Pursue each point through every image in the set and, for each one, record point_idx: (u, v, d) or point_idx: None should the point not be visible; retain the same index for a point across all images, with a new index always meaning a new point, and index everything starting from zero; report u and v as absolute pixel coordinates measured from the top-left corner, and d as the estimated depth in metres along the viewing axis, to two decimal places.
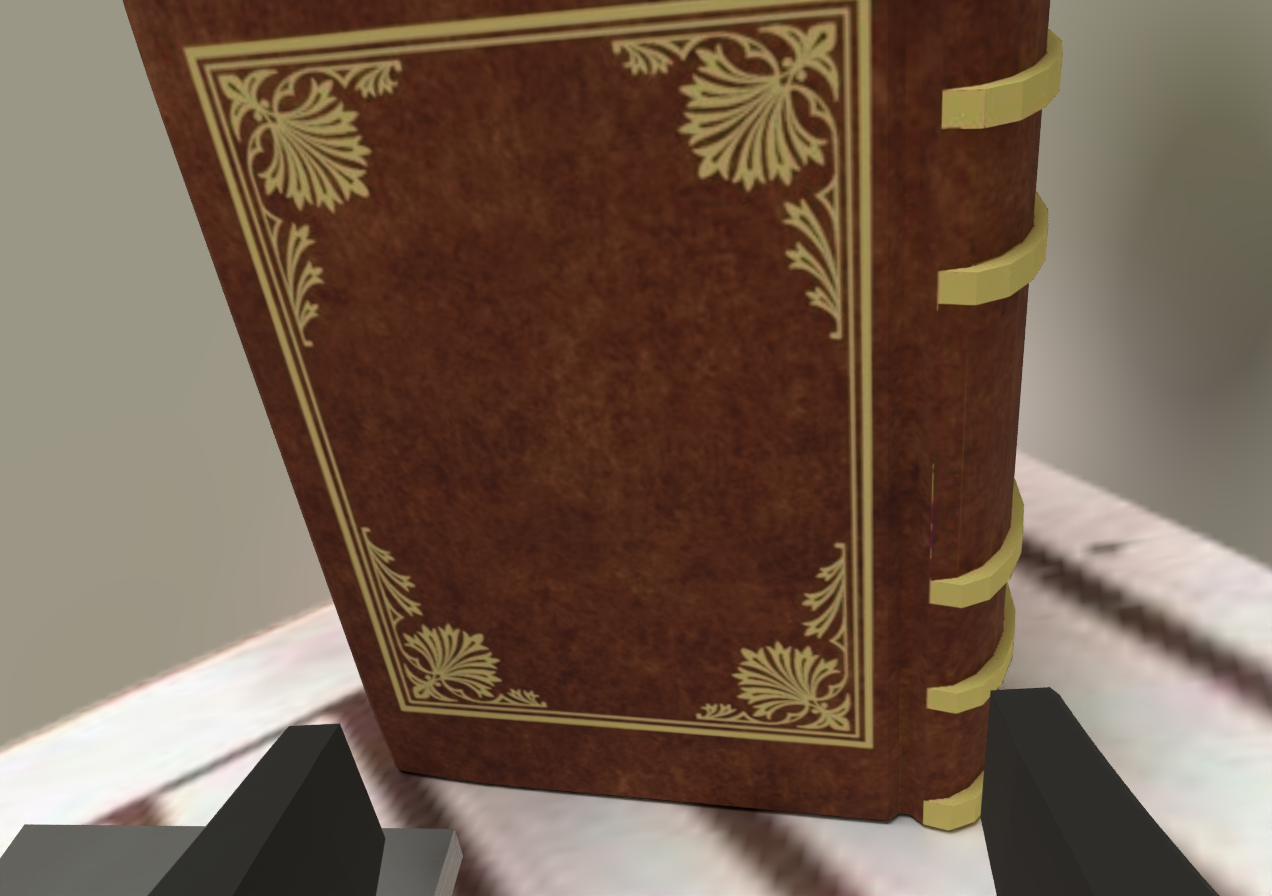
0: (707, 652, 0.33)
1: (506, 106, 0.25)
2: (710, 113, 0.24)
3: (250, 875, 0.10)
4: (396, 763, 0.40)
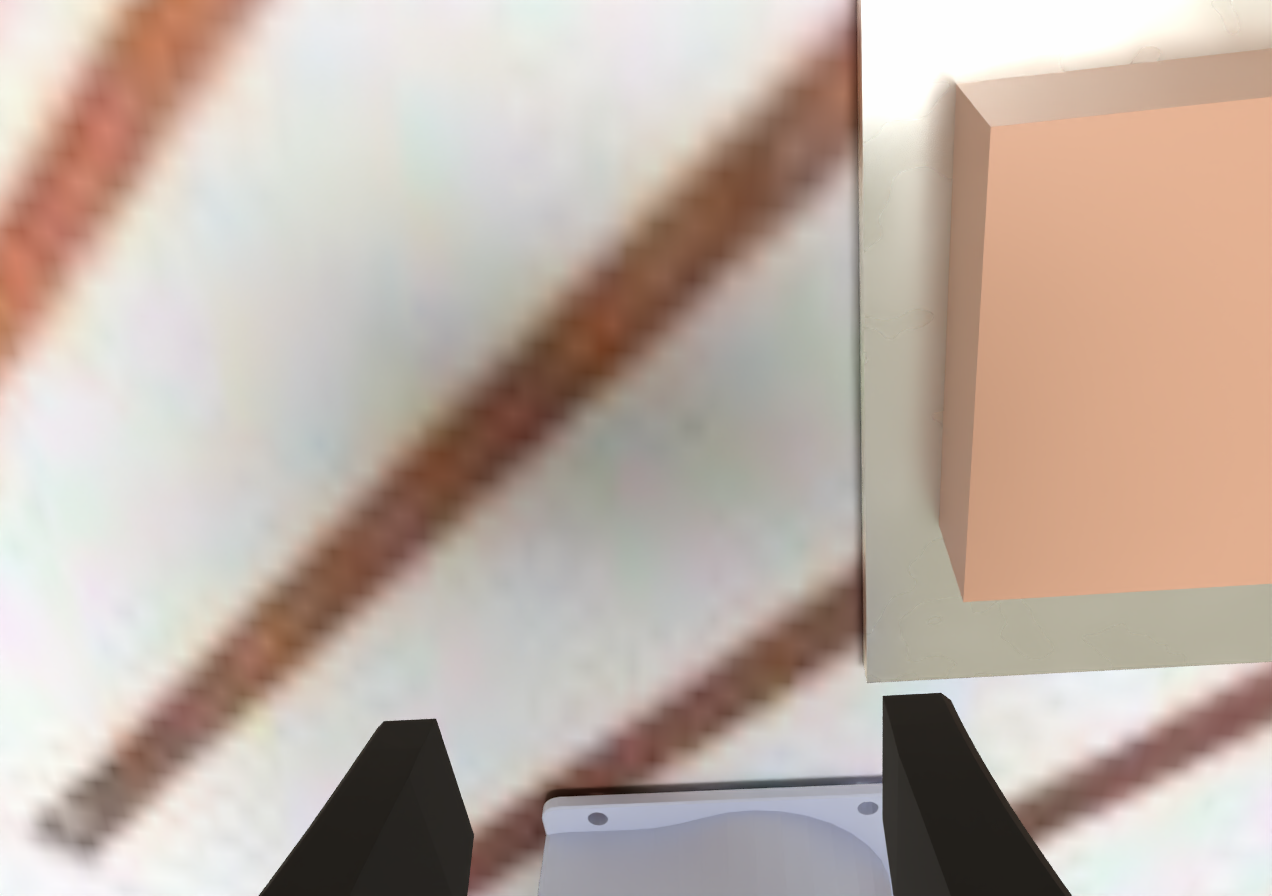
0: None
1: None
2: None
3: (366, 871, 0.09)
4: None
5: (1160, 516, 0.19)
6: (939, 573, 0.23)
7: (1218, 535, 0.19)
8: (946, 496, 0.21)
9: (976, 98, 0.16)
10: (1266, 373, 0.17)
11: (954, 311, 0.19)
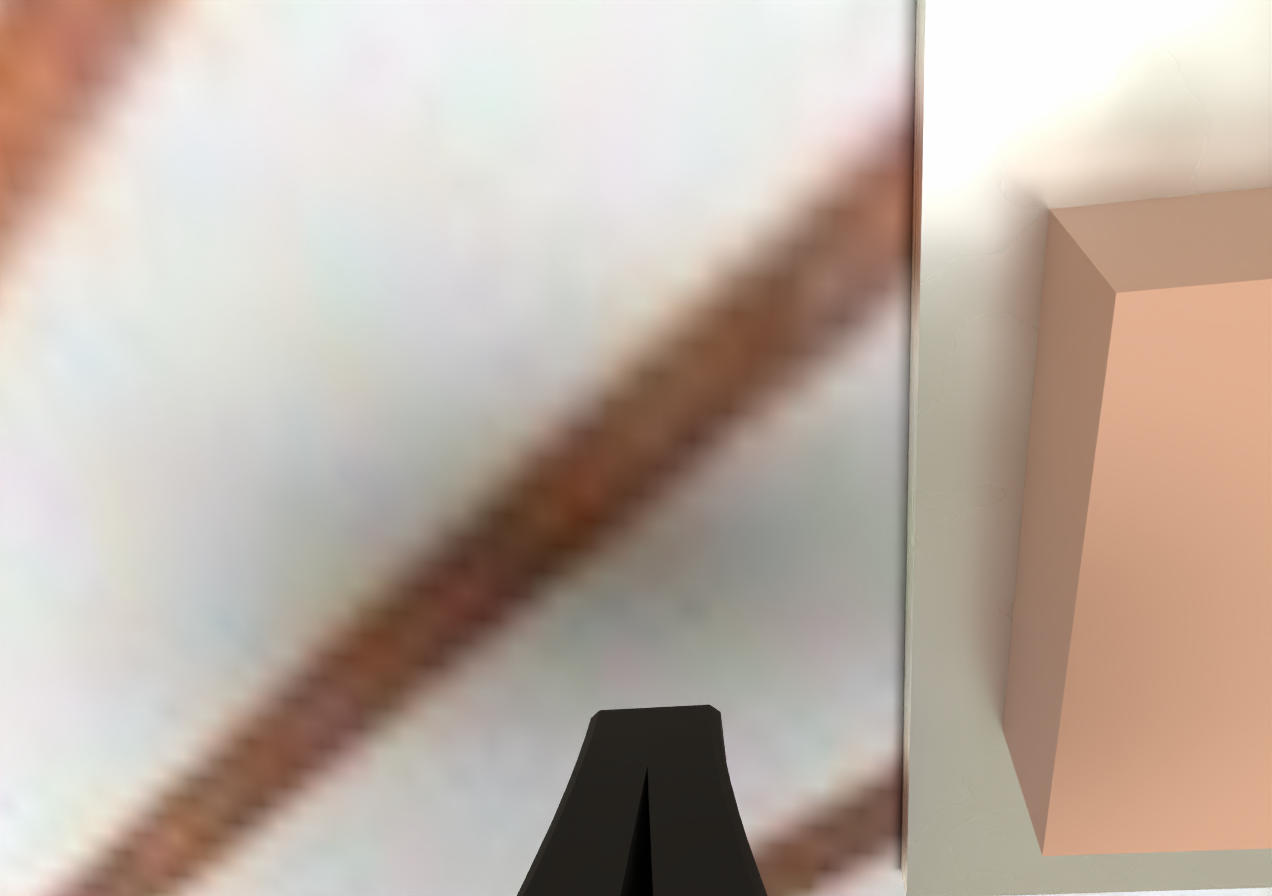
0: None
1: None
2: None
3: (629, 862, 0.09)
4: None
5: None
6: (1000, 783, 0.18)
7: None
8: (1016, 708, 0.16)
9: (1083, 237, 0.12)
10: None
11: (1037, 495, 0.14)
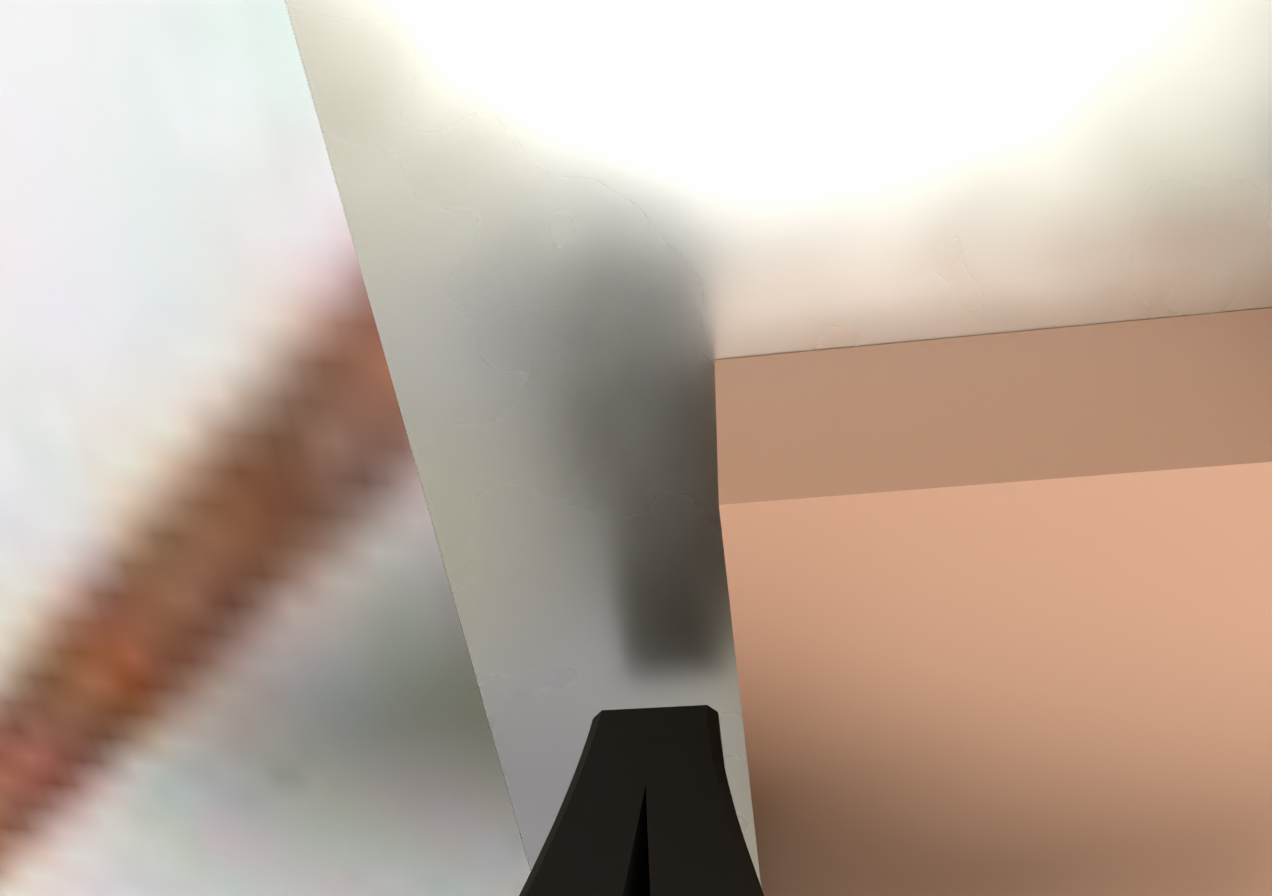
0: None
1: None
2: None
3: (631, 862, 0.09)
4: None
5: None
6: None
7: None
8: None
9: (728, 408, 0.09)
10: (1232, 841, 0.10)
11: None
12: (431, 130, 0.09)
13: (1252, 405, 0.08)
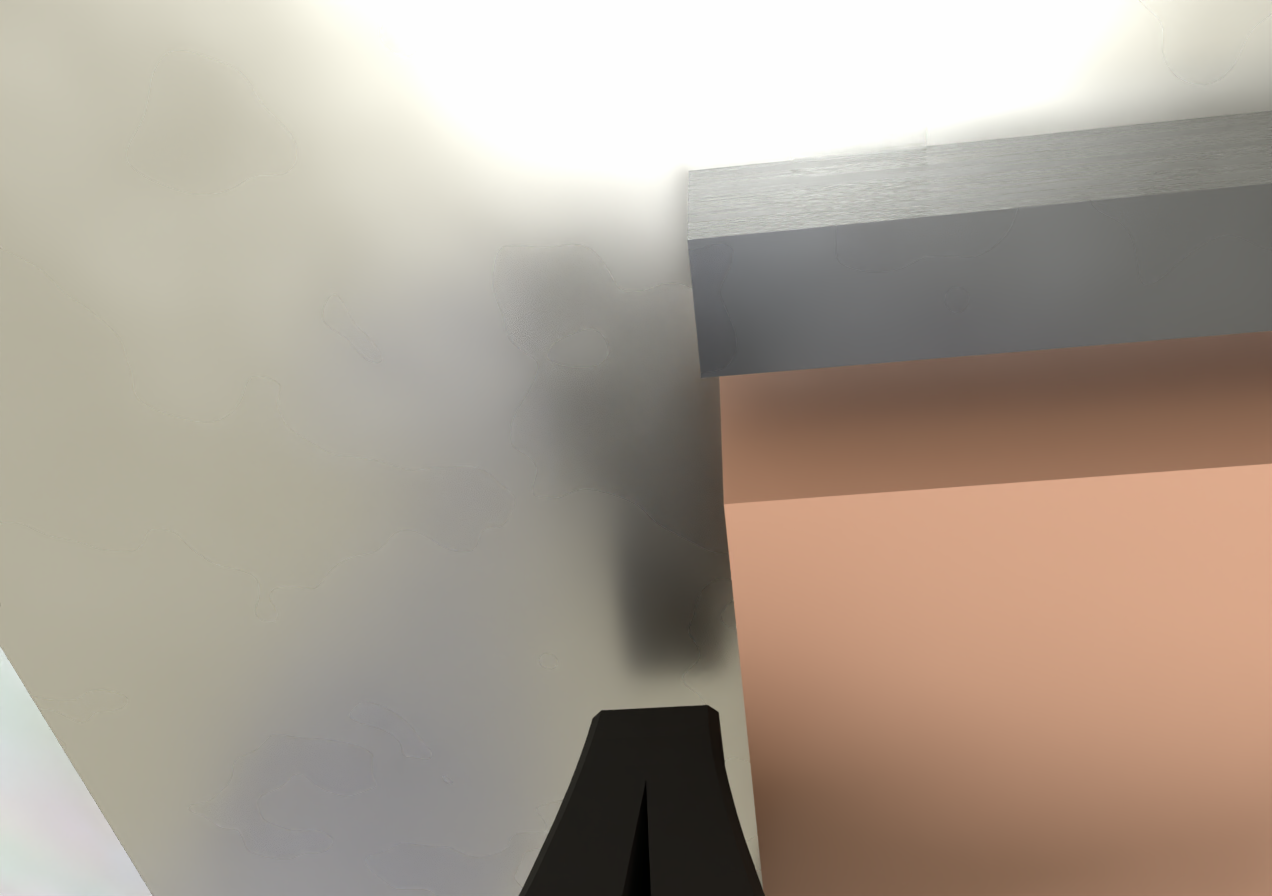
0: None
1: None
2: None
3: (631, 862, 0.09)
4: None
5: None
6: None
7: None
8: None
9: (733, 407, 0.09)
10: (1233, 842, 0.10)
11: None
12: None
13: (1257, 408, 0.08)
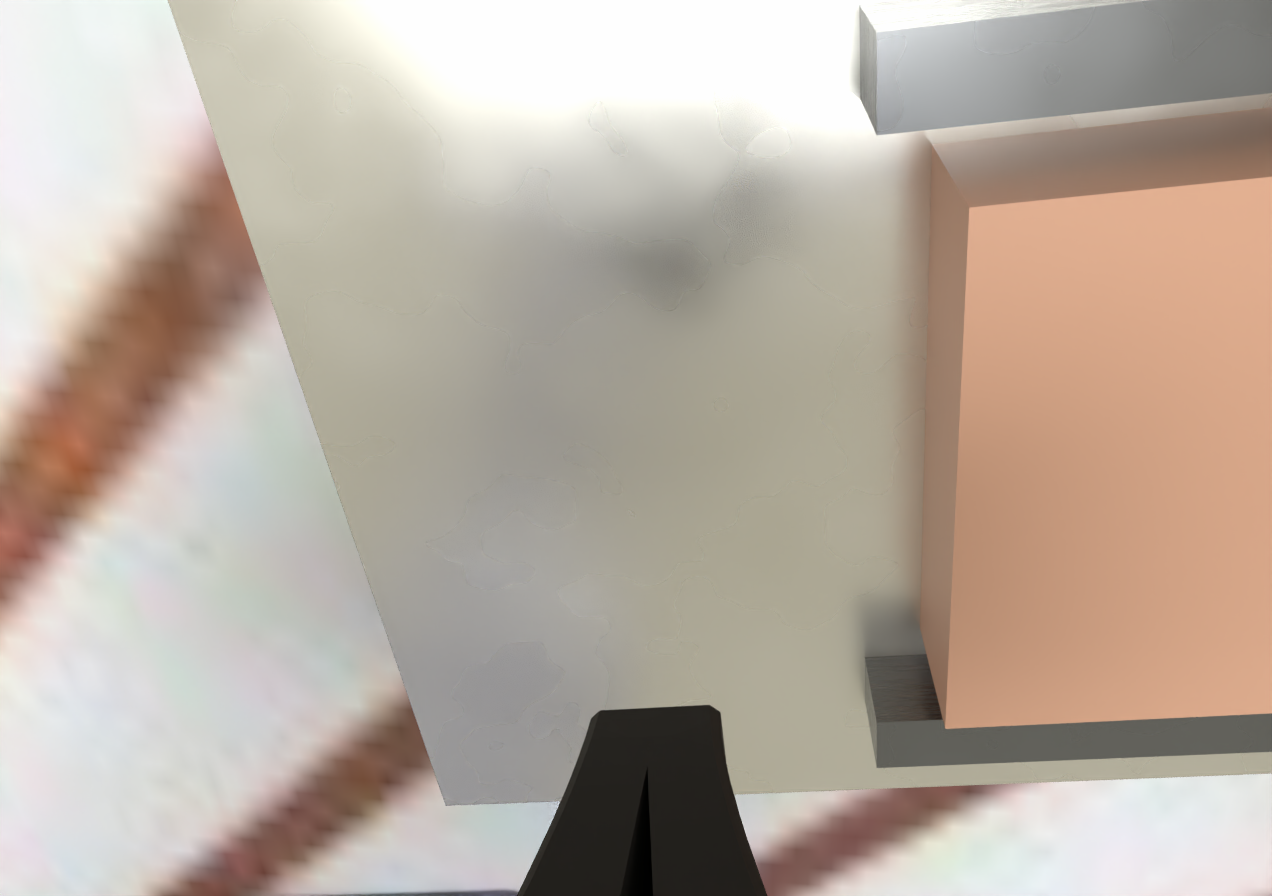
0: None
1: None
2: None
3: (629, 862, 0.09)
4: None
5: (1172, 640, 0.16)
6: (486, 699, 0.21)
7: (1240, 660, 0.16)
8: (927, 602, 0.18)
9: (954, 165, 0.14)
10: None
11: (933, 402, 0.16)
12: (250, 31, 0.14)
13: None
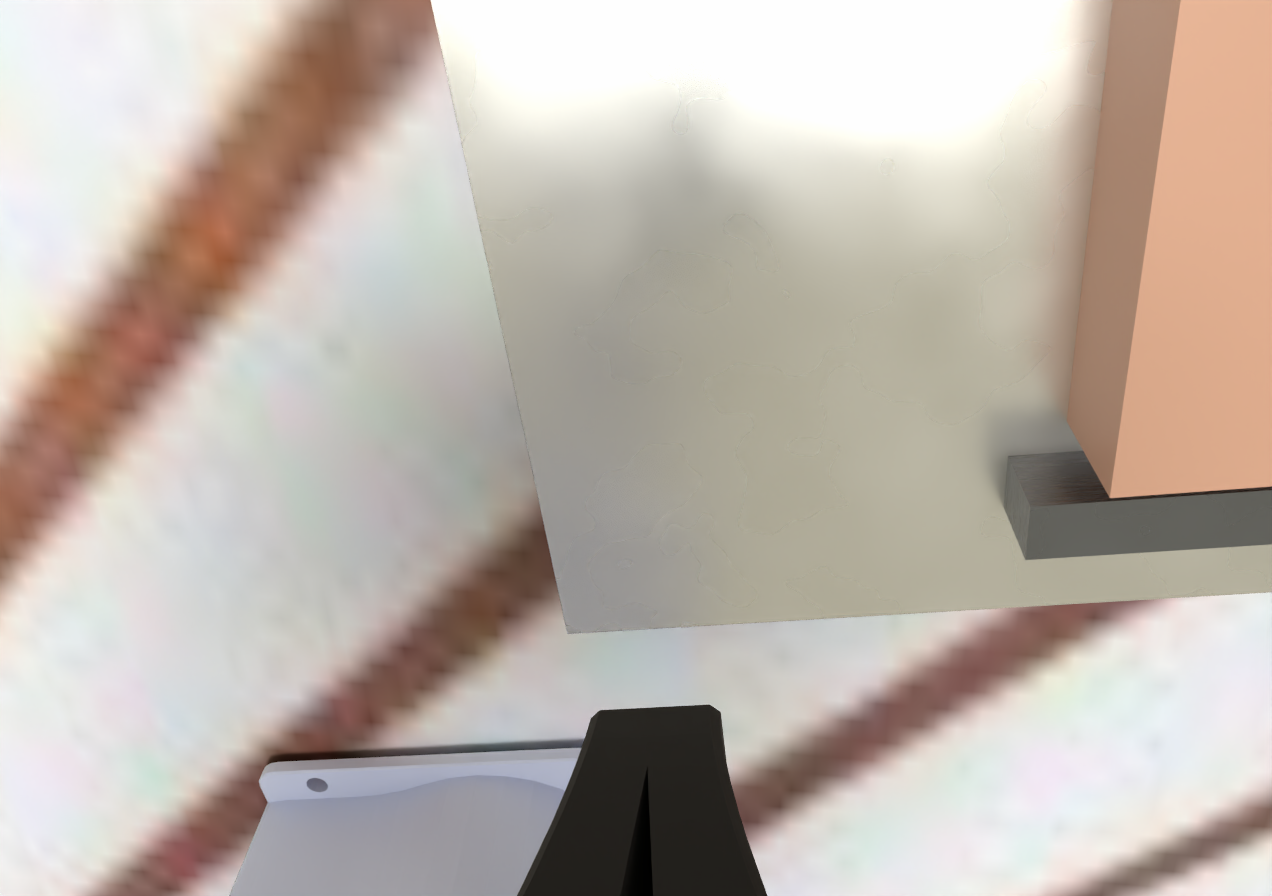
0: None
1: None
2: None
3: (629, 862, 0.09)
4: None
5: None
6: (619, 510, 0.21)
7: None
8: (1083, 381, 0.18)
9: None
10: None
11: (1110, 150, 0.16)
12: None
13: None
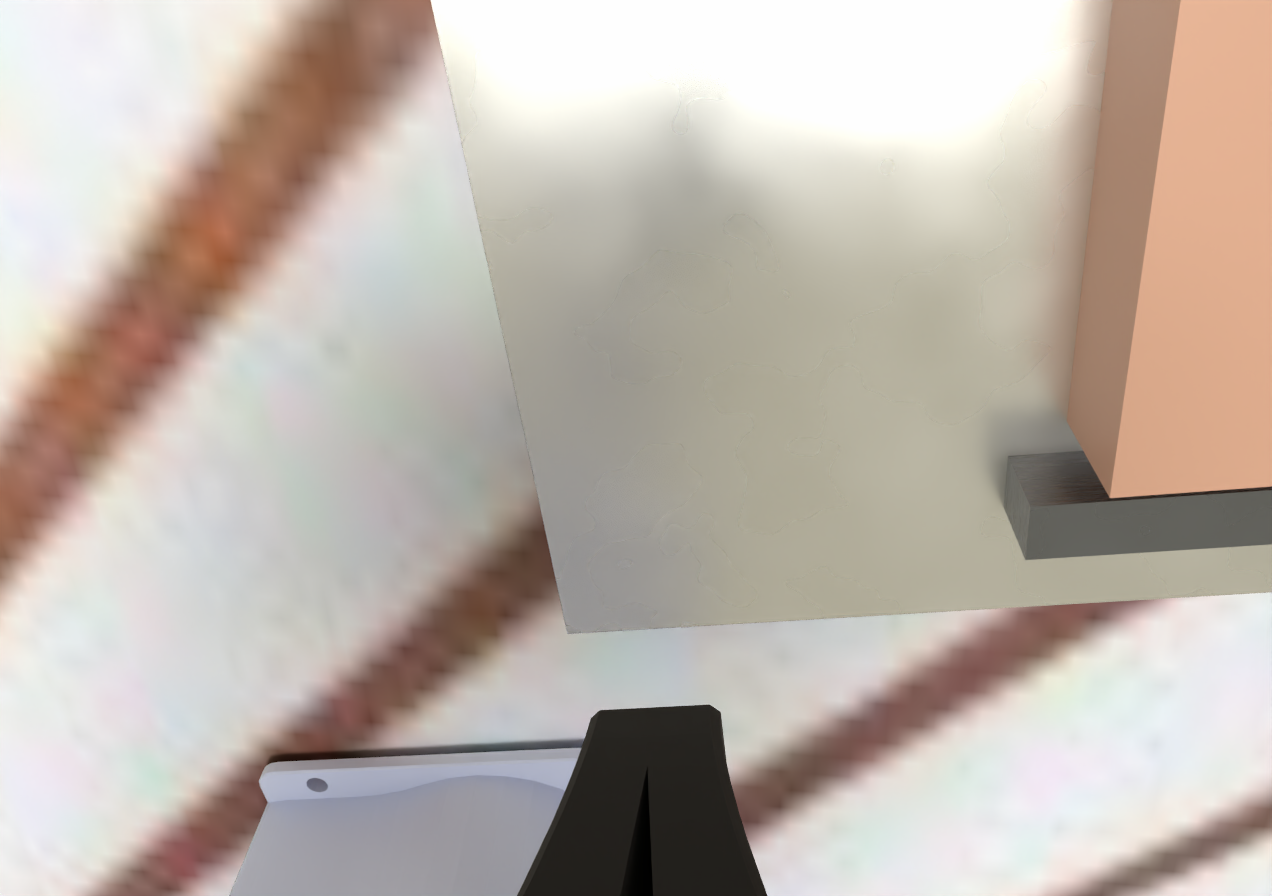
0: None
1: None
2: None
3: (629, 862, 0.09)
4: None
5: None
6: (619, 510, 0.21)
7: None
8: (1083, 381, 0.18)
9: None
10: None
11: (1110, 150, 0.16)
12: None
13: None
